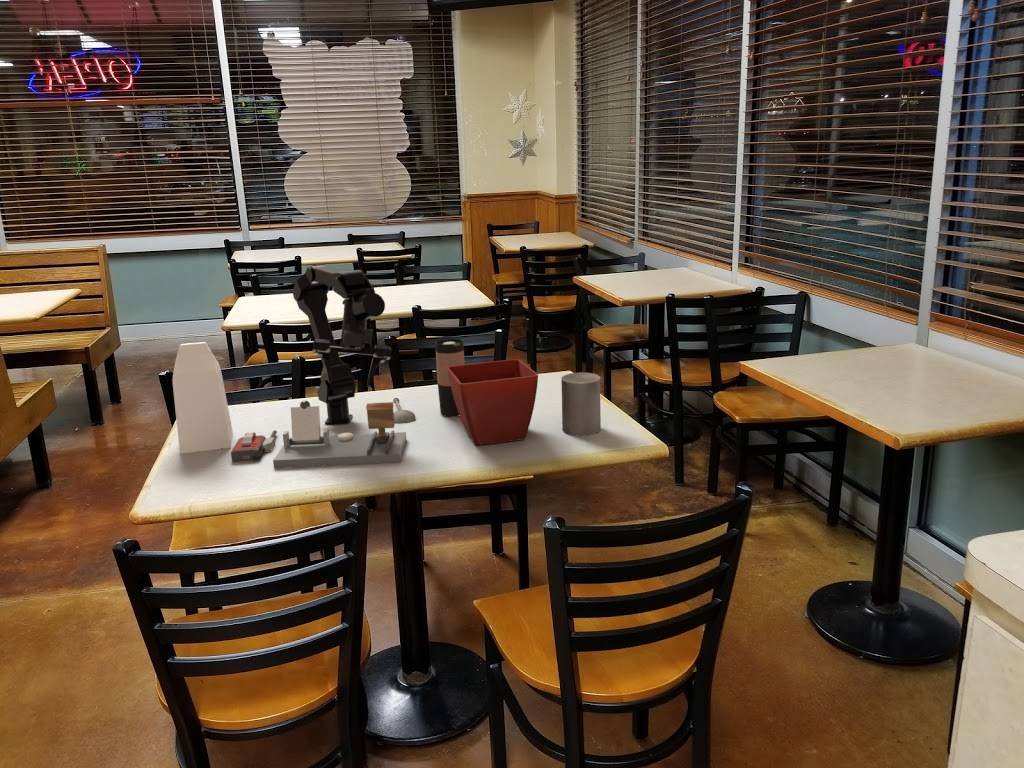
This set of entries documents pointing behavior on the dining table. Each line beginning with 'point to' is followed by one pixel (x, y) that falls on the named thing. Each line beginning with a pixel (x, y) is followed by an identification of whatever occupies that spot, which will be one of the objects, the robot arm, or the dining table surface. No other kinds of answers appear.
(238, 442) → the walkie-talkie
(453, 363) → the travel mug
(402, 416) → the soupspoon
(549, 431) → the dining table surface
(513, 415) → the plant pot
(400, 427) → the dining table surface
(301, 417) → the light grey piece
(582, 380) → the pillar candle
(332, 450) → the control panel
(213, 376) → the milk
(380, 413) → the walnut slider lever
